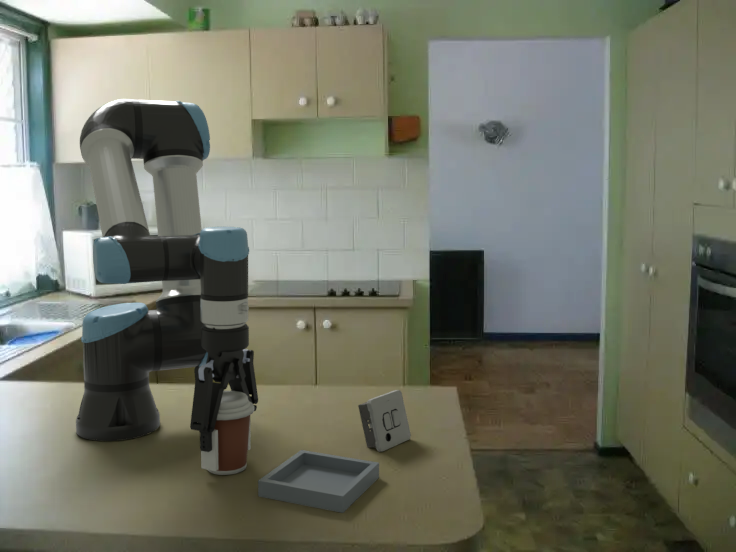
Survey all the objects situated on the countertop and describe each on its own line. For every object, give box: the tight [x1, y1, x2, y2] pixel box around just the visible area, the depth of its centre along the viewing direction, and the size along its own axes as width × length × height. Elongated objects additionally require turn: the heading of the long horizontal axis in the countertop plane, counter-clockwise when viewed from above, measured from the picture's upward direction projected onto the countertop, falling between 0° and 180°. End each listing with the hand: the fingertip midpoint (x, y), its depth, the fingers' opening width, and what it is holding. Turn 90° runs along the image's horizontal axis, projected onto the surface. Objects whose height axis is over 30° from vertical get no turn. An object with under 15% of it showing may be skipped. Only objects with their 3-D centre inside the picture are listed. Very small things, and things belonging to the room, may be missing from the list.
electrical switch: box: [357, 389, 412, 453], centre depth 138 cm, size 9×5×9 cm, turn 141°
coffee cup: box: [207, 390, 255, 476], centre depth 124 cm, size 9×9×12 cm
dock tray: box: [257, 449, 380, 514], centre depth 118 cm, size 14×14×2 cm
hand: (226, 458), depth 125 cm, fingers closed on coffee cup, 9 cm apart
